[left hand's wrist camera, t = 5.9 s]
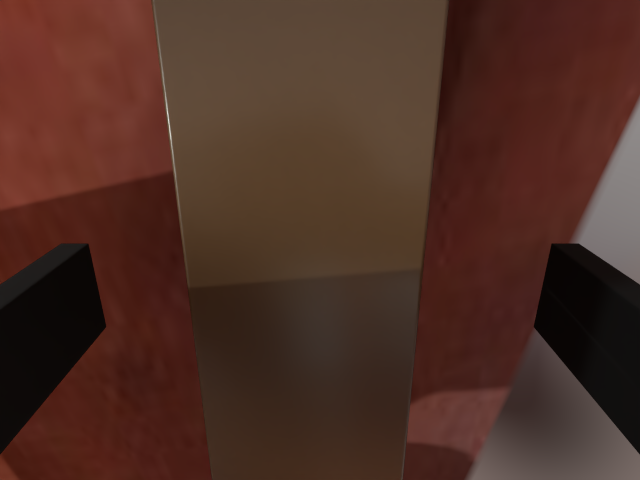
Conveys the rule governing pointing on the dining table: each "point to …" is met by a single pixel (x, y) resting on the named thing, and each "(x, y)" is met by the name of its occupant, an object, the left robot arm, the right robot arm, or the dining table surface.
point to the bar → (303, 222)
